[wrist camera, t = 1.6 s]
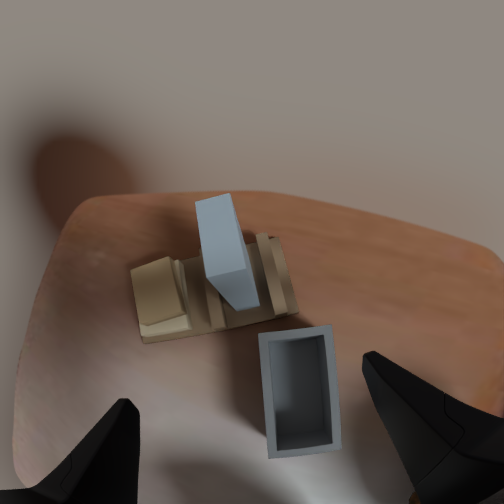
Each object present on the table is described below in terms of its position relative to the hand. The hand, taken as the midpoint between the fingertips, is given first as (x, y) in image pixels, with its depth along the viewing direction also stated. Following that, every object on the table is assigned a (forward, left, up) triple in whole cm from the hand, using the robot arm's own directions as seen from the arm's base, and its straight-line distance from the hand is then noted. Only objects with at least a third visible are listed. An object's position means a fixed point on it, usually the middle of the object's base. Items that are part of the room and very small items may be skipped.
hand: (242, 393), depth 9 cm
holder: (+2, -3, -13) cm, 14 cm away
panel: (+2, +7, -13) cm, 15 cm away
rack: (-1, +8, -13) cm, 16 cm away
